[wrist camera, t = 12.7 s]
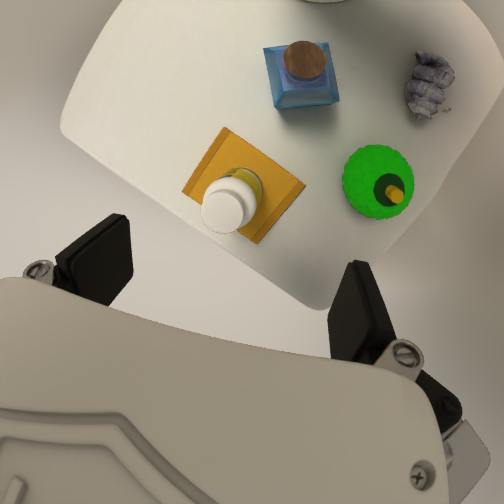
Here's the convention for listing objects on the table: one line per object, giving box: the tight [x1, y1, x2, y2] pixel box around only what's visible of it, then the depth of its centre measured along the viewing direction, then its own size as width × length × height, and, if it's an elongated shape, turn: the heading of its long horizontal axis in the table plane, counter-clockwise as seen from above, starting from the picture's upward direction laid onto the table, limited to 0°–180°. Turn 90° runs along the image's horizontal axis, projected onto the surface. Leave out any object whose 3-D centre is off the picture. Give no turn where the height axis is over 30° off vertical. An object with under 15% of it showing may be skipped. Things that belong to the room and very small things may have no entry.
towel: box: [182, 127, 305, 244], centre depth 33 cm, size 12×10×1 cm
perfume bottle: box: [263, 41, 340, 110], centre depth 21 cm, size 6×6×12 cm
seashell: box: [405, 51, 455, 120], centre depth 21 cm, size 5×5×10 cm
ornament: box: [342, 145, 414, 220], centre depth 25 cm, size 8×8×10 cm
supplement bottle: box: [201, 167, 263, 234], centre depth 28 cm, size 5×5×10 cm
